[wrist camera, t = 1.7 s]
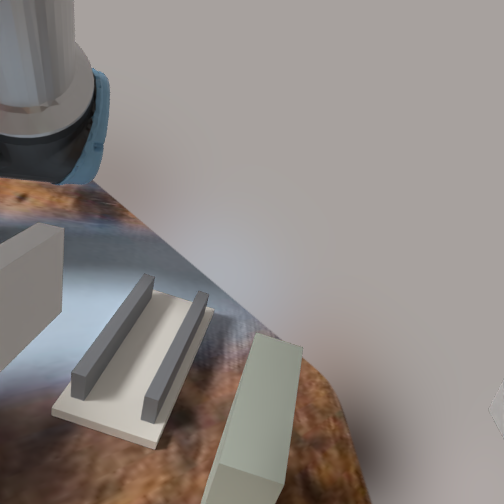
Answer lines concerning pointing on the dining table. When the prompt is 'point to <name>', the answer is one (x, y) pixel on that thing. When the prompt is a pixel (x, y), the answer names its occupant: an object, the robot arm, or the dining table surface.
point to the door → (257, 427)
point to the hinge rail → (137, 365)
